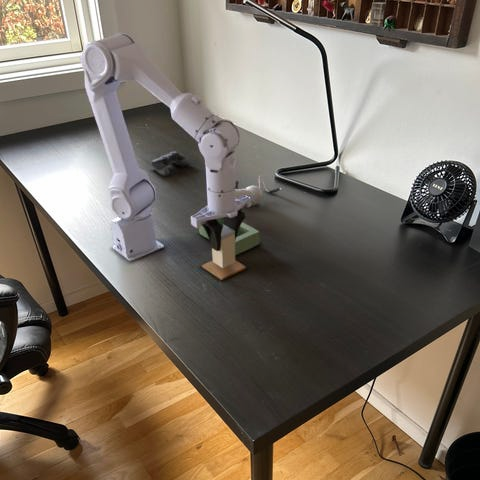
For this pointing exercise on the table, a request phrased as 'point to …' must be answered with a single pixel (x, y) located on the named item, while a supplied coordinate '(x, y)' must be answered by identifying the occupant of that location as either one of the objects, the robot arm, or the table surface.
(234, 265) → the cork pad
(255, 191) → the clip-on lamp
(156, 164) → the gaming controller
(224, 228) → the cream rectangular block
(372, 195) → the table surface
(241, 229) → the holder
